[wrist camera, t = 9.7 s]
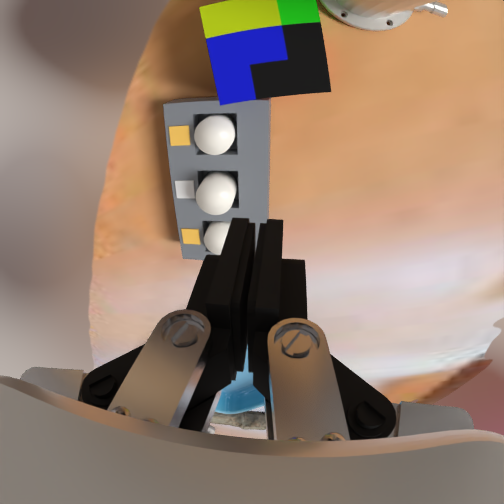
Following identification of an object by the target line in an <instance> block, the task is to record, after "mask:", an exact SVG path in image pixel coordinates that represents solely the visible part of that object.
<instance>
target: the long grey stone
mask: <svg viewBox="0 0 504 504" xmlns="http://www.w3.org/2000/svg"><path fill="white" fill-rule="evenodd" d="M210 423H215V424H224V425H232V426H235V427H240V428H242V429H257V430H258V429H259V430H265V429H266V420H265V413H260V412H241V413H236V414H224V413H218V412H214V415H213V417H212V420H211V422H210Z"/></svg>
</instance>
